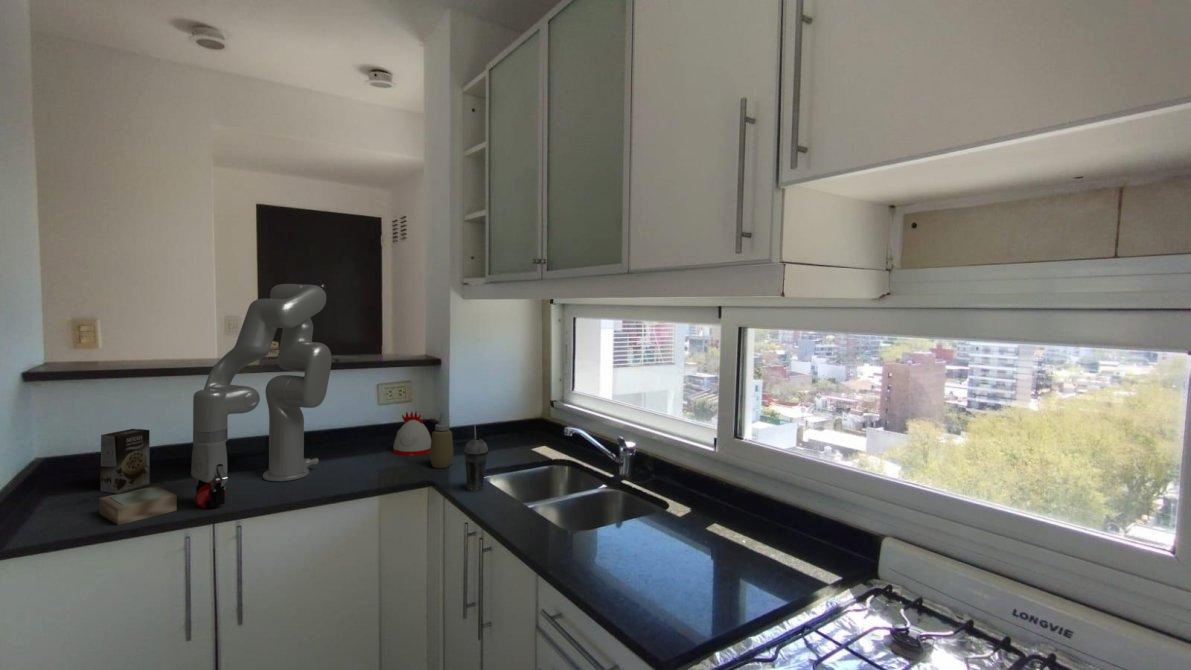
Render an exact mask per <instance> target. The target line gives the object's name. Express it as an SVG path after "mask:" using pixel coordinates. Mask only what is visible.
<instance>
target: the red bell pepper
mask: <svg viewBox="0 0 1191 670" xmlns="http://www.w3.org/2000/svg"><path fill="white" fill-rule="evenodd" d="M208 483H209V484H206V485H204V486H203V487H201V488H200V489H199V490H198V492H197V494H195V495H194V501H195V503H196V505H198V506H200V508H202V509H203V508H204V509H205V508H207V507H208V505H207V504H206V502H207V501H210V492H212V488H211V484H210V482H208ZM217 483H218V482H215V486H216V484H217ZM225 497H226V494H225Z"/></svg>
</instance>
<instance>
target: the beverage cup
mask: <svg viewBox="0 0 1191 670" xmlns="http://www.w3.org/2000/svg"><path fill="white" fill-rule="evenodd" d="M476 427H477V426H476V424H473V434H474V435H473V437H474V438H472V439H470V440H469V441H468V442H466V444H465V447H464V450H463V455H464V460H465V461H464V462H465V475H466V487H467V492H471V493H479V492H482V491H483V488H484V483H485V473H486V466H487V458H488V455H489V448H488V444H487V443H486V442H485V441H484V440H483V439H481V438H478V437H477V428H476ZM481 487H482V488H481ZM471 488H472V489H471ZM476 488H478V489H476Z"/></svg>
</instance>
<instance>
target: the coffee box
mask: <svg viewBox="0 0 1191 670" xmlns="http://www.w3.org/2000/svg"><path fill="white" fill-rule="evenodd" d="M147 485H150V429H141V428H130V429H123V430H121V431H115V432H108V433H104V434H100V492H105V493H110V494H121V493H125V492H129V491H132V490H134V489H137V488H141V487H144V486H147Z"/></svg>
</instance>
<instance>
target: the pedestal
mask: <svg viewBox="0 0 1191 670" xmlns="http://www.w3.org/2000/svg"><path fill="white" fill-rule="evenodd" d="M177 497H178V495H177V494H175V493H173V492H171V491H168V490H166V489H164V488H162V487H160V486H158V485H154V486H150V487H145V488H140V489H136V490H129V491H125V492H121V493H115V494H112V495H108V496H102V497H99V498H98V501H99V505H98V507H99V508H98V509H99V512H98V513H99V514H100V516H102V517H104V518H106V519H107V520H109V521H111V522H112V523H114V524H115V525H117V526H120V525H124V524H128V523H133V522H136V521H139V520H145V519H148V518H151V517H157V516H160V515H164V514H168V513H172V512H177V509H178V508H177V507H178V506H177V505H178V504H177V503H178V502H177V501H178V500H177Z"/></svg>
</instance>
